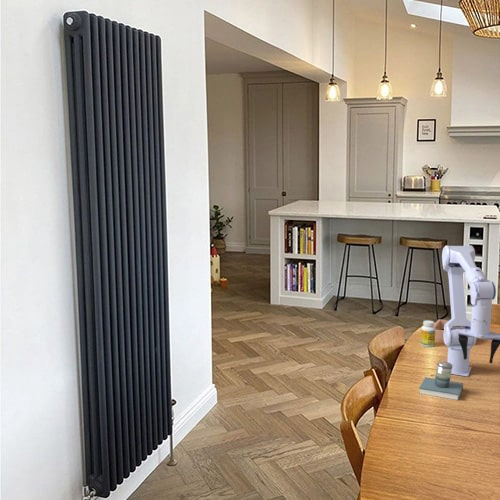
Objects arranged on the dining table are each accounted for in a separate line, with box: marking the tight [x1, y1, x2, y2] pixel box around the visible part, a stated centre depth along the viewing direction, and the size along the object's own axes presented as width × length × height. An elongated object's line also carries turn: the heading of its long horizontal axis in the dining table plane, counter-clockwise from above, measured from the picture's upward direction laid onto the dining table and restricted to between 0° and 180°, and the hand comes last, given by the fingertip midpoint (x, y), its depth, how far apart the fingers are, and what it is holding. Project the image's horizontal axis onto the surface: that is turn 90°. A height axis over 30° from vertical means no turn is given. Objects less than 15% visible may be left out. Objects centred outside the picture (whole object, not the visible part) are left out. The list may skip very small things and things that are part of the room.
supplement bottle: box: [420, 319, 436, 348], centre depth 245 cm, size 5×5×10 cm
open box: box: [433, 318, 478, 342], centre depth 257 cm, size 17×17×4 cm
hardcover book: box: [418, 376, 464, 401], centre depth 199 cm, size 10×12×2 cm
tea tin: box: [434, 360, 453, 388], centre depth 198 cm, size 5×5×7 cm
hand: (478, 360), depth 198 cm, fingers open, 7 cm apart
